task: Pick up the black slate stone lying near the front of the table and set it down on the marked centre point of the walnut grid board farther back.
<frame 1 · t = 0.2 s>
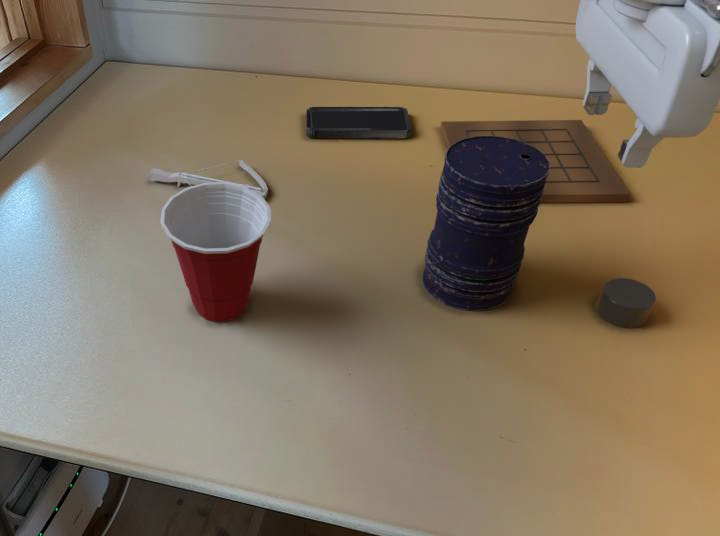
hand: (610, 136, 62), 19 cm above the table, tool pointing down, fingers open, 8 cm apart
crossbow: (208, 190, 94), on the table
plastic cup: (221, 307, 77), on the table
dark blue cylinder: (466, 283, 79), on the table
phone: (356, 127, 105), on the table
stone: (620, 312, 74), on the table
board: (526, 162, 96), on the table
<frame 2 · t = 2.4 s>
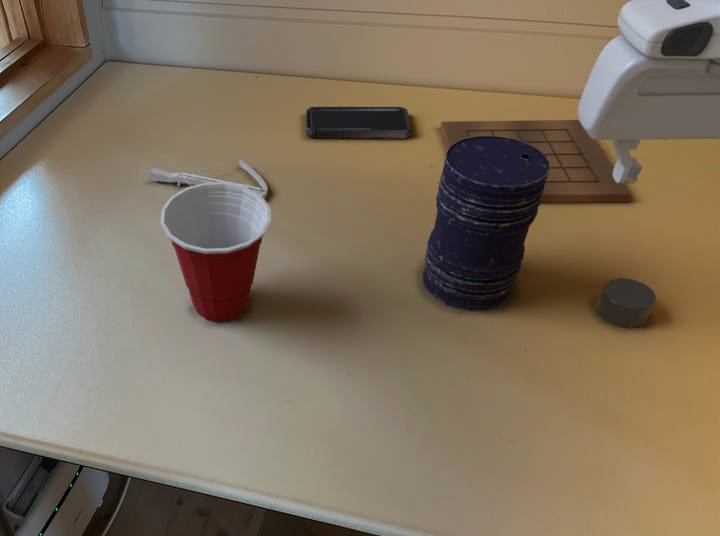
hand: (676, 179, 63), 16 cm above the table, tool pointing down, fingers open, 8 cm apart
nothing on the table moved.
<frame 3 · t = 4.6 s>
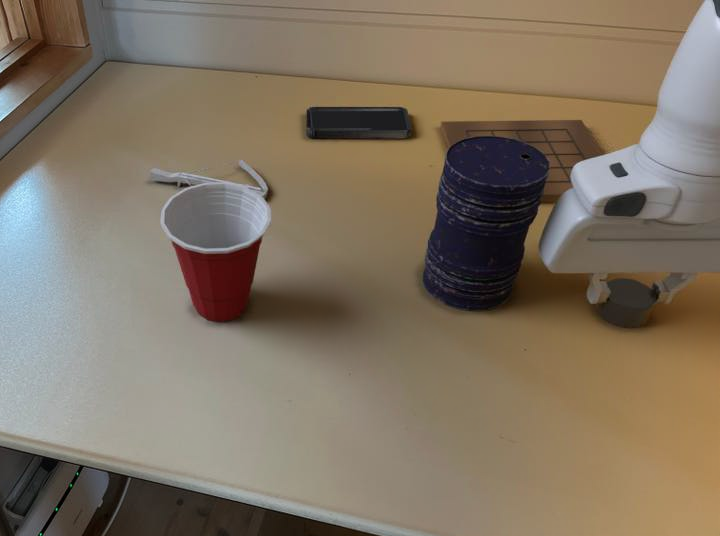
hand: (626, 300, 73), 2 cm above the table, tool pointing down, fingers closed on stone, 5 cm apart
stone: (621, 312, 74), on the table, touching gripper
everything else where it was.
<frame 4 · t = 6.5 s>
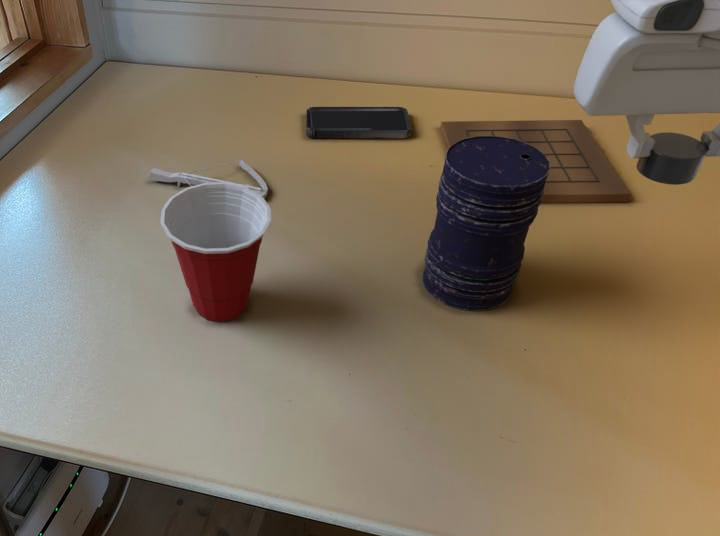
hand: (671, 154, 65), 16 cm above the table, tool pointing down, fingers closed on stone, 5 cm apart
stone: (665, 170, 66), point 15 cm above the table, touching gripper
everything else where it was.
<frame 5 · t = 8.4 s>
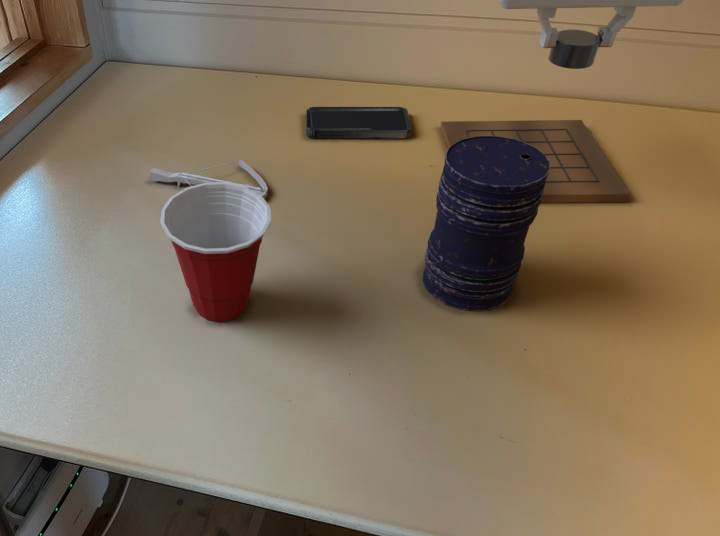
hand: (574, 46, 82), 17 cm above the table, tool pointing down, fingers closed on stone, 5 cm apart
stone: (570, 60, 83), point 15 cm above the table, touching gripper
everything else where it was.
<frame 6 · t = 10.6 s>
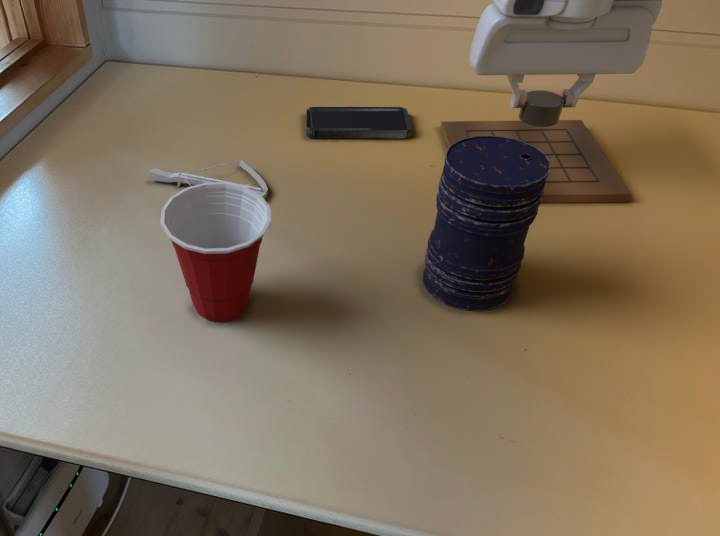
hand: (541, 106, 91), 8 cm above the table, tool pointing down, fingers closed on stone, 5 cm apart
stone: (538, 118, 92), point 6 cm above the table, touching gripper
everything else where it was.
when the fingers open (3 cm above the table, at t = 12.3 s): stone stays where it is, resting on board.
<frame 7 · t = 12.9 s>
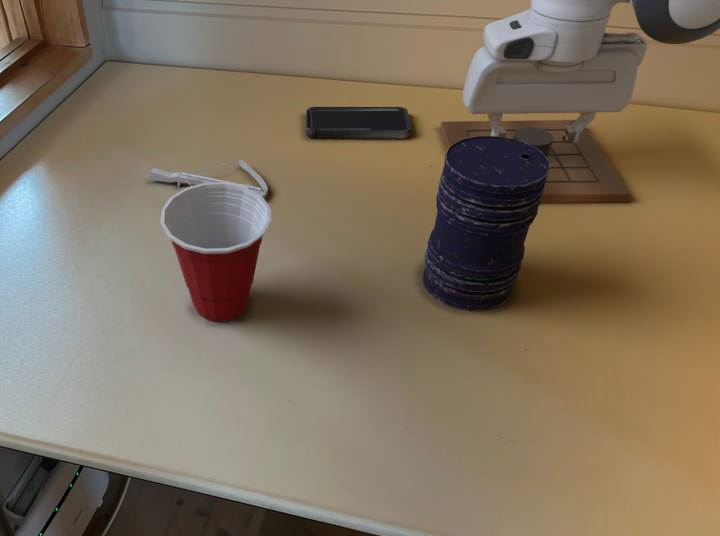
hand: (532, 141, 94), 3 cm above the table, tool pointing down, fingers open, 8 cm apart
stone: (528, 153, 95), point 1 cm above the table, touching board
everything else where it was.
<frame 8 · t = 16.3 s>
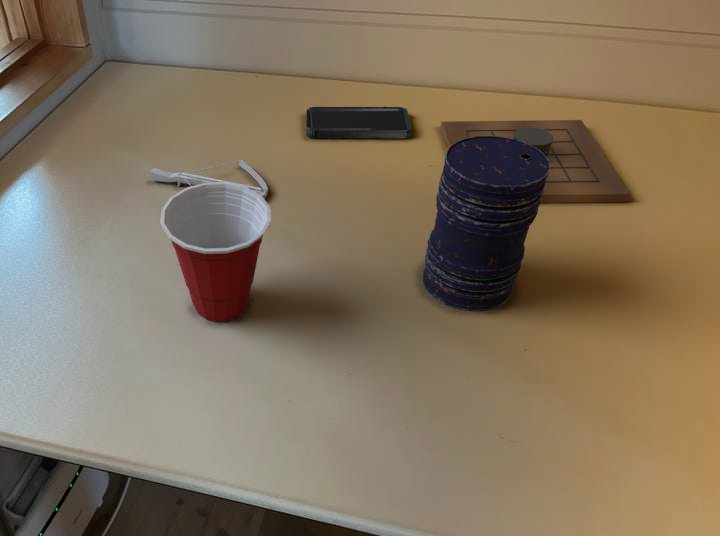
nothing on the table moved.
at the end: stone 0.0 cm off-centre on the board, point 1.3 cm above the board's base; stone tilted 0° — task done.
